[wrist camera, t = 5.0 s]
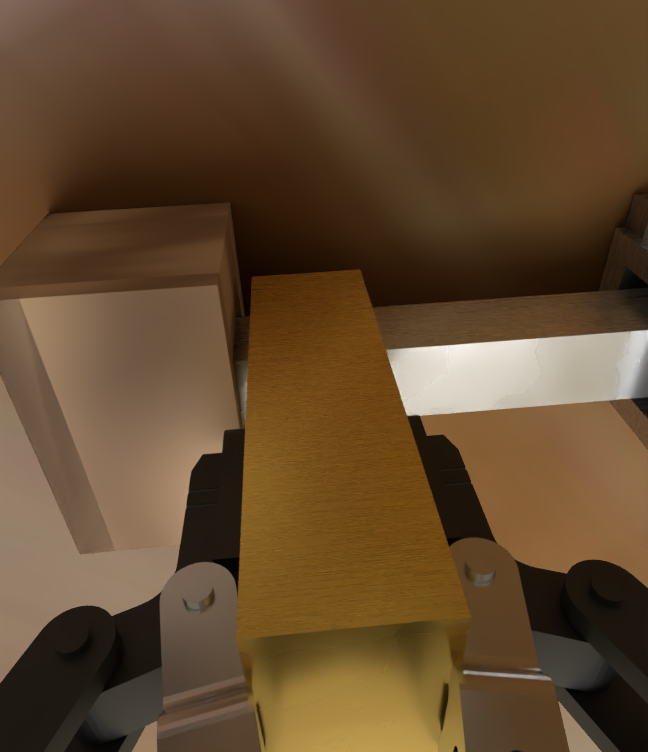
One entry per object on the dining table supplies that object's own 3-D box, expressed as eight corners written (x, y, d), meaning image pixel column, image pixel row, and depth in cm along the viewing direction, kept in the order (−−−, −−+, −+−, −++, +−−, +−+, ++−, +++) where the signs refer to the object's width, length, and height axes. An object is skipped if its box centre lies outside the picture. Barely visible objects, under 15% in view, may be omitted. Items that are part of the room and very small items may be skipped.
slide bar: (723, 243, 16) (1226, 541, 8) (670, 379, 19) (998, 709, 11) (160, 282, 16) (32, 659, 7) (190, 417, 18) (125, 806, 10)
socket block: (229, 202, 16) (217, 285, 12) (258, 421, 21) (257, 538, 16) (47, 213, 16) (-32, 302, 12) (118, 433, 20) (79, 554, 16)
